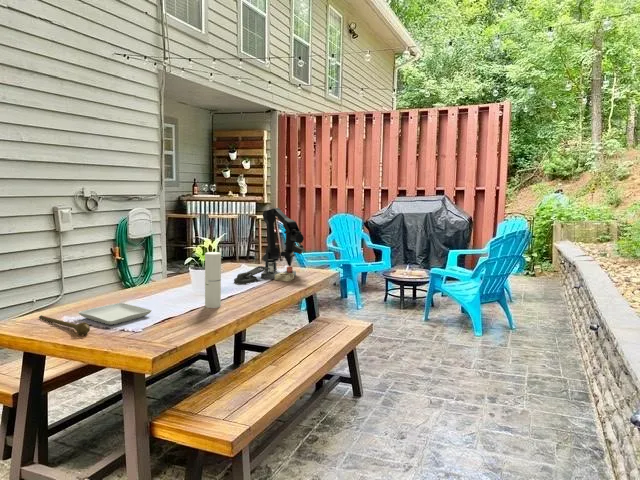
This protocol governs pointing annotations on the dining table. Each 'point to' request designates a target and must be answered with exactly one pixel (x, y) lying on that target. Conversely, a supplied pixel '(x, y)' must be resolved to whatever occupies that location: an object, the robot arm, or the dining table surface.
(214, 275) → the cylindrical container
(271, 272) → the drill peg
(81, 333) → the ball ended rod
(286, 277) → the rack
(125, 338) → the dining table surface
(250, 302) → the dining table surface
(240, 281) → the dark grey stapler
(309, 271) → the dining table surface
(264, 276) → the socket block
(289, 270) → the release button
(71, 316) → the dining table surface
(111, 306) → the salad plate
